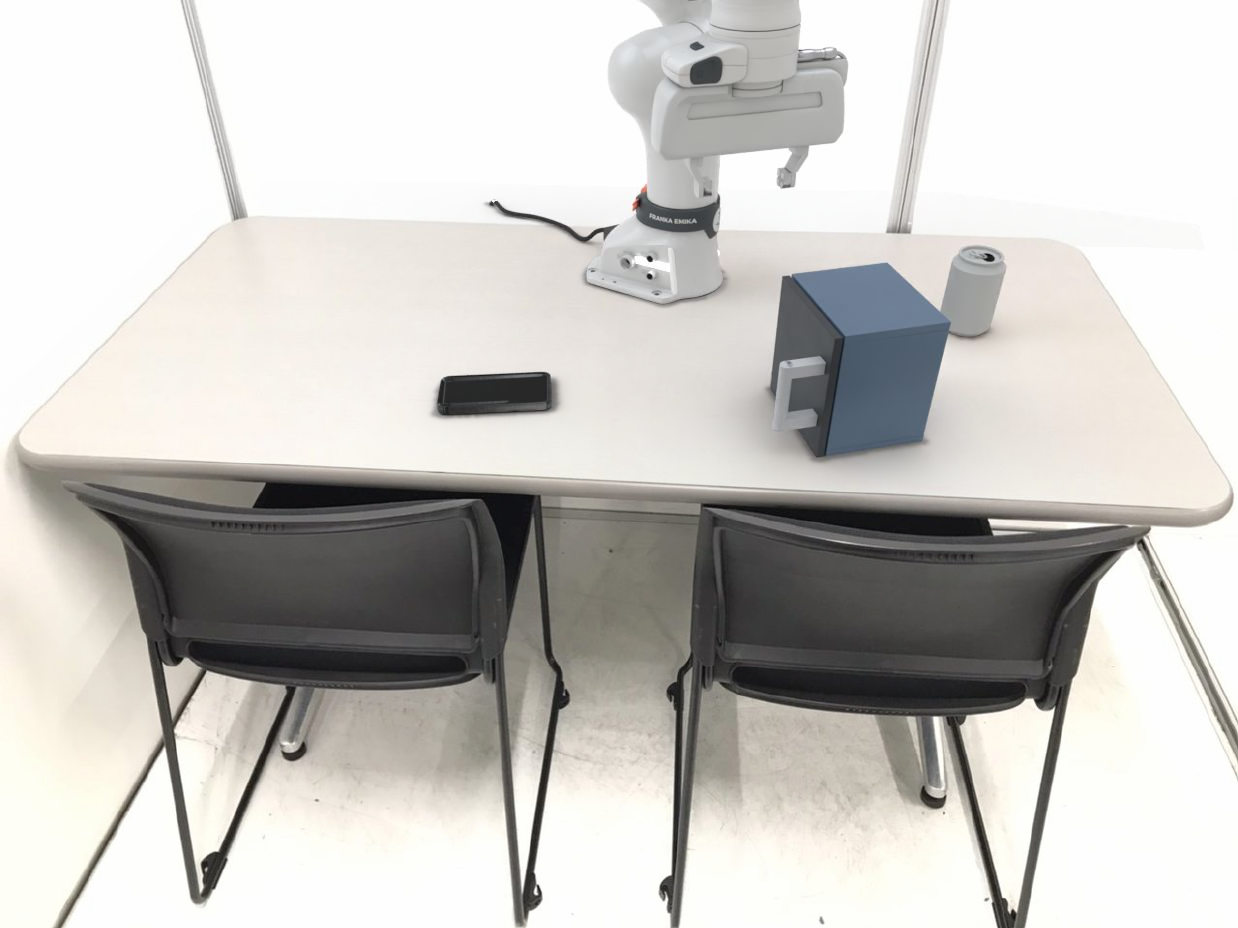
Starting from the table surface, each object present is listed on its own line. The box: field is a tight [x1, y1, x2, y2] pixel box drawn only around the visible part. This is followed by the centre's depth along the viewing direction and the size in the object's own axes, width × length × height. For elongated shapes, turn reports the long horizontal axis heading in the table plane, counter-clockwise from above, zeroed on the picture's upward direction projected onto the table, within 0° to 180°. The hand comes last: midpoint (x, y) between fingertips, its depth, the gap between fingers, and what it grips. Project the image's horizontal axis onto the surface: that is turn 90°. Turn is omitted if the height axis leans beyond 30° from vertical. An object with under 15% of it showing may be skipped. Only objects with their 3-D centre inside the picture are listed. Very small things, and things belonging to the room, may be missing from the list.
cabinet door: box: [769, 274, 843, 458], centre depth 112 cm, size 6×16×17 cm, turn 13°
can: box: [939, 244, 1007, 338], centre depth 133 cm, size 8×8×12 cm
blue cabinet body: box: [791, 262, 951, 457], centre depth 114 cm, size 13×16×17 cm
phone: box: [436, 371, 552, 415], centre depth 123 cm, size 8×1×15 cm
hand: (744, 191), depth 98 cm, fingers open, 8 cm apart
